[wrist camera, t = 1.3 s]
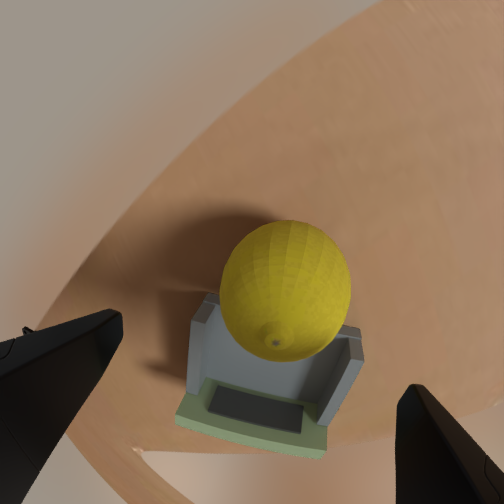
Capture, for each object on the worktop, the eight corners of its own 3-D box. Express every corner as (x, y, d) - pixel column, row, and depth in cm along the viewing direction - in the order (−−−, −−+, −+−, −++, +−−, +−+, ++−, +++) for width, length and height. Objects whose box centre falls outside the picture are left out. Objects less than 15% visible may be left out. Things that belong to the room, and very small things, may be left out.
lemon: (289, 314, 18) (270, 417, 11) (223, 248, 18) (163, 327, 10) (363, 258, 16) (393, 349, 9) (295, 182, 16) (279, 224, 8)
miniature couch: (198, 375, 22) (175, 424, 17) (208, 292, 19) (177, 339, 14) (322, 405, 21) (319, 459, 16) (359, 328, 18) (369, 385, 13)
